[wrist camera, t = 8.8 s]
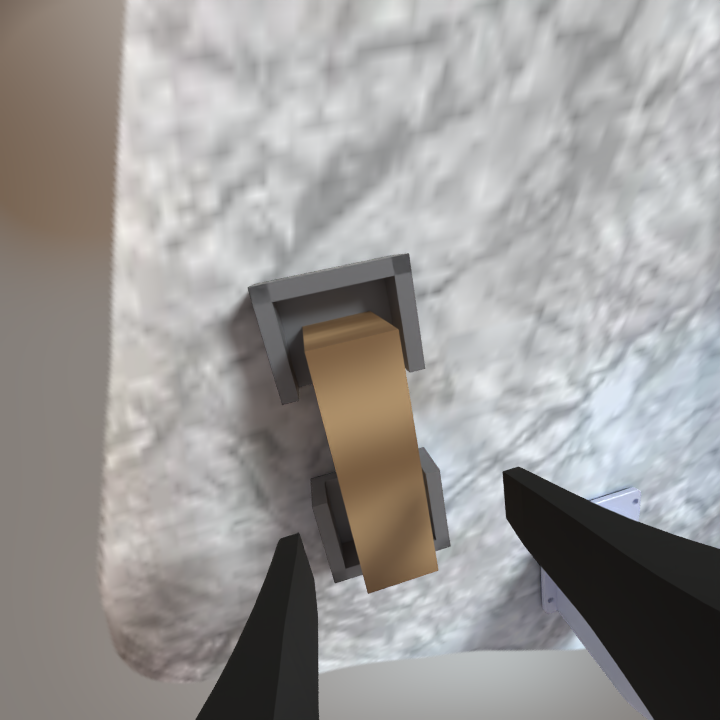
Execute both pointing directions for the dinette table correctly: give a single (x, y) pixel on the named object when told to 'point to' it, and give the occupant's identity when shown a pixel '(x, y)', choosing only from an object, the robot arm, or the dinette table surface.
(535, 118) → the dinette table surface
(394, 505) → the brown wooden block
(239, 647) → the robot arm
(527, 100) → the dinette table surface
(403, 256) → the end caps
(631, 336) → the dinette table surface
